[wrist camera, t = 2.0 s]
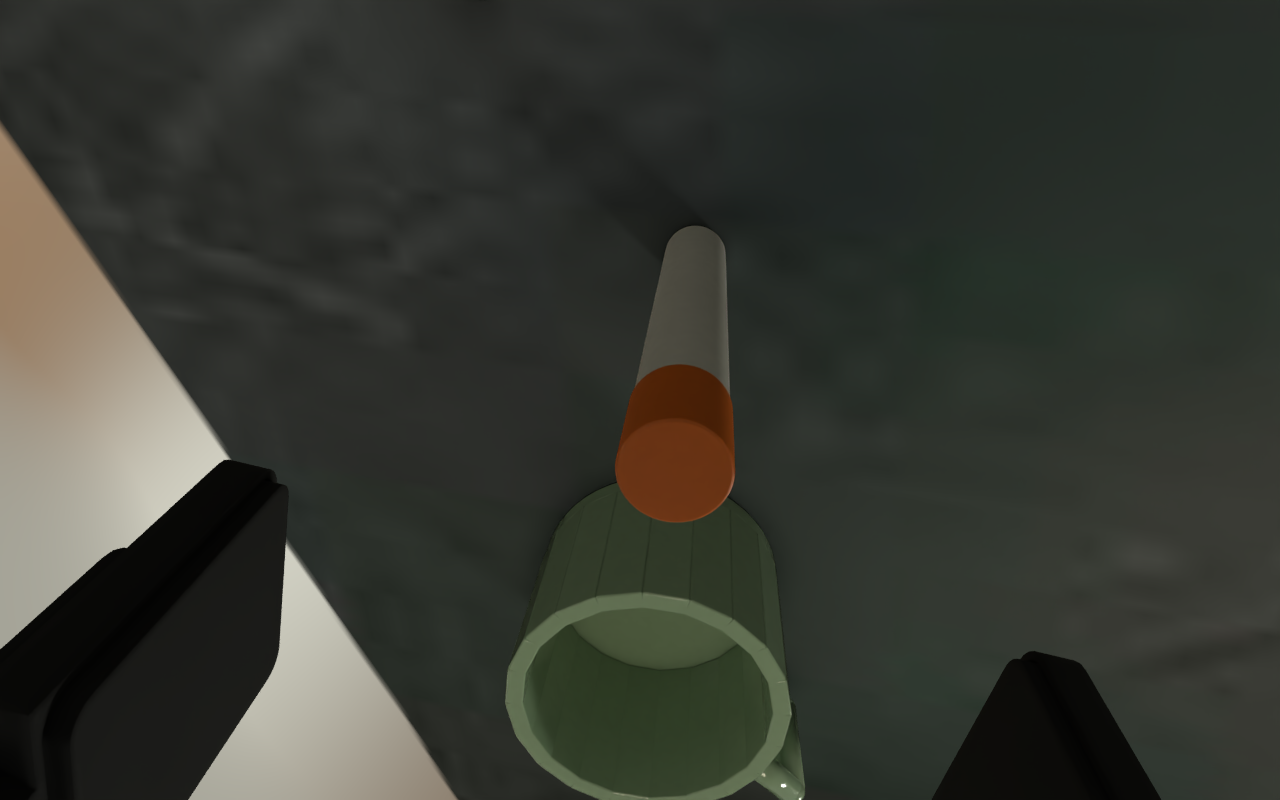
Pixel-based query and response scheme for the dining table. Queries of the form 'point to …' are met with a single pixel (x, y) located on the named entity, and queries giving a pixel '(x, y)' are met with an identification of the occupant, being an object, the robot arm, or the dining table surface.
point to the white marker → (682, 390)
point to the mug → (656, 658)
